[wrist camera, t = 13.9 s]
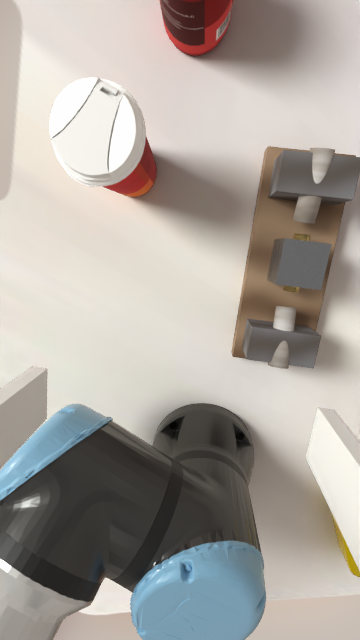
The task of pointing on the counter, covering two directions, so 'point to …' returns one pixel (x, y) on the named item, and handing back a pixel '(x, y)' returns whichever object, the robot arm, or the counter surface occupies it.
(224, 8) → the canned food
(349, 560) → the element tile
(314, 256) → the coupler
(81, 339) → the counter surface
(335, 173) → the shaft stand
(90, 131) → the coffee cup
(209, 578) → the robot arm
